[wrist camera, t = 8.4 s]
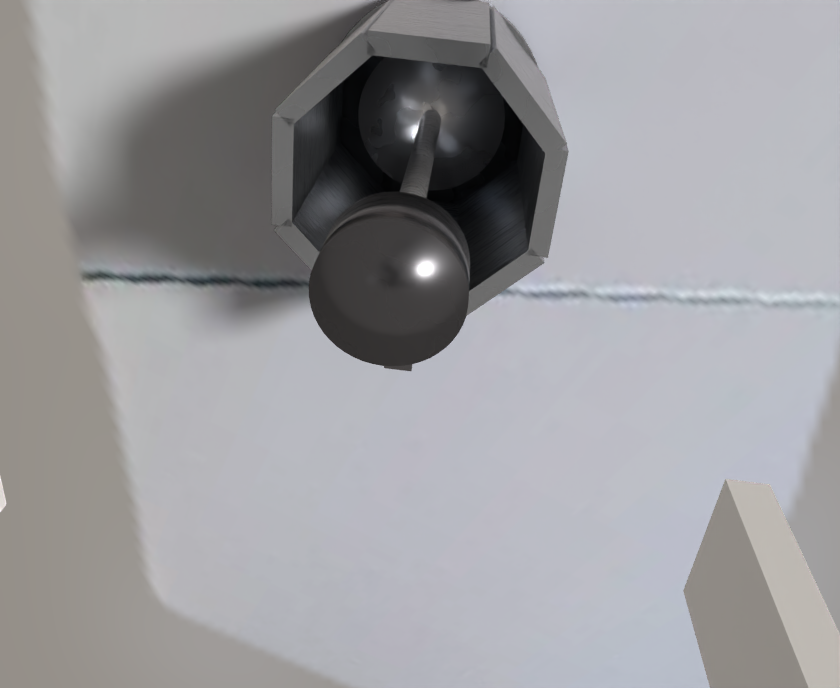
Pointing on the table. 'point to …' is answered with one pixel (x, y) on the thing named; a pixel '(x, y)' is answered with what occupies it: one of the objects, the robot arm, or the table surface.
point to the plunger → (407, 215)
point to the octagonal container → (360, 177)
